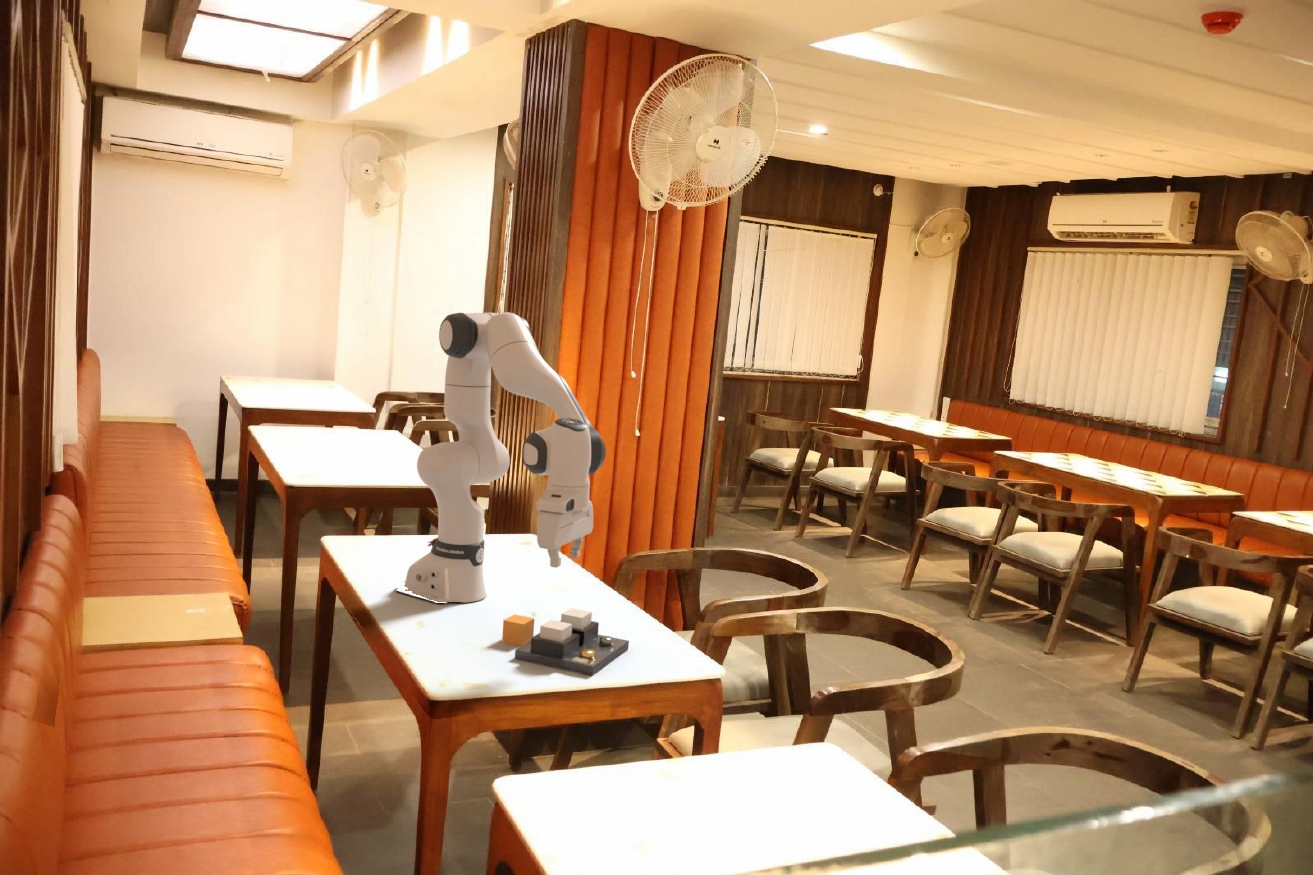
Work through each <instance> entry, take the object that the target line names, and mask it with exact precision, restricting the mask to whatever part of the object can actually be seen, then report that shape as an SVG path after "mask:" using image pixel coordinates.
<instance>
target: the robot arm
mask: <svg viewBox="0 0 1313 875" xmlns="http://www.w3.org/2000/svg"><path fill="white" fill-rule="evenodd" d="M438 338H439V345H440V347H441V349H442V351H443V352H444V354H446V355H447V356H448V357H447V362H446V369H445V378H444V398H443V401H444V403H443V414H444V416H445V417H444V418H446V419H447V421H449V422H450V423H451V424H453V425H454V426H455V427H456V430H457V432H458V440H457V441H446V442H438V443H436V444H433V445H430V446H427V447H424V448H423V450H421V451H420V453H419V455H418V457H417V462H416V470H417V474H418V476H419V479H420V480H421V481H422V482H423V483H424V484H425V485H426V486H427V487H428V488H429V489H430V491H431V492H432V493H433V496H434V497H435V500H436V504H437V505H436V506H437V512H438V514H437V516H438V521H437V524H438V526H437V528H438V529H437V537H436V538H434V539H432V540H430V541H427V543H428V544H427V547H431V550H430V552H428V553H427V554H426V555H424V556H422V557H421V558H419V559H417V560H416V561H414V563H412V564H411V565H410V566H409V568H408V570H407V572H406V577H405V580H404V581H403V582H405V585H404V586H405V587H407V588H408V590H407V589H406V590H405V591H412V593H413V594H416V595H420V596H422V597H425V598H427V599H429V600H434V601H437V602H461V603H460V604H462V602H463V604H465V603H474V602H477V601H480V600H483V599H485V598H486V597H487V592H486V591H487V590H486V587H485V581H484V572H483V571H484V570H483V562H484V556H485V540H484V526H485V524H484V523H485V511H484V508H483V507H482V506H481V505H480V503H478V502H477V501H475V500H474V499H473V498H472V494H471V486H472V485H477V484H478V485H479V484H487V483H490V482H494V481H495V480H498V479H500V478H502V477H504V476H505V475H506V474H507V472H508V470H509V469H510V468H509V467H510V462H511V458H510V453H509V451H508V449H507V447H506V446H505V445H504V443H503V442H501V441H500V440H499V438H498V437H497V434H496V432H495V430H494V426H493V424H492V418H491V392H492V391H491V389H492V388H491V387H492V372H493V375H494V377H495V379H496V381H497V382H498V383H499V384H500V386H501V388H503V389H504V390H506V391H507V392H510V393H511V394H513V395H516V396H520V397H523V398H528V399H531V400H535V401H537V402H540V403H542V404H545V405H546V406H547V407H549V408H550V409H551V410H552V411H553V412H554V413H555V414H556V417H557V418H556V419H555V420H554V421H552V423H551V425H550V426H549V427H547V428H545V429H540V430H537V431H533V432H531V433H529V435H528V436H527V437H526V438H525V440H524V441H523V444H522V449H521V457H522V462H523V465H524V467H525V468H526V469H527V470H528V471H529V472H530V473H532V474H533V475H539V476H548V479H547V486H546V487H547V488H546V489H545V490H544V492H543V494H542V495H540V497H539V498H538V499H537V500H536V505H535V506H536V510H537V511H539V512H538V515H537V520H536V524H537V525H536V541H537V545H538V547H539V549H545V550H547V554H548V556H549V558H550V561H549V566H550V567H551V568H559V567H560V566H561V565H562V557H560V553H559V552H560V551H561V547H562V546H565V545H567V544H569V543H572V545H571V548H570V549H569V557H570V558H572V559H576V558H580V556H581V549H582V546H583V542H584V537H585V536H588V535H589V534H592V532H593V529H594V508H593V507H594V506H593V502H592V501H591V500H590V499H591V498H590V494H591V493H590V489H591V480H590V476H591V475H593V474H595V473H596V472H597V471H598V470H600V468H601V466H602V465H603V463H604V462H605V460H606V455H607V449H606V444H605V441H604V439H603V438H602V436H601V435H600V433H599V432H598V431H597V429H596V428H594V426H593V425H592V424H591V422H590V420H589V419H588V417H587V416H586V414H585V412H584V410H583V409H582V407H581V406H580V403H579V402H578V400H577V398H576V396H575V395H574V393H573V391H572V390H571V388H570V386H569V385H568V383H567V382H566V379H564V377H563V376H562V375H561V374H560V373H558V372H557V371H555V370H554V369H553V368H552V367H551V366H550V365H549V364H548V363H547V362H546V361H545V359H544V358H543V357H542V355H541V354H540V351H539V350H538V347H537V344H536V342H535V340H534V337H533V335H532V331H531V327H530V324H529V323H528V321H527V320H526V319H525V318H524V317H522V316H520V315H517V314H516V313H513V312H508V311H506V312H500V313H499V312H498V313H497V312H486V311H485V312H468V313H464V312H457V313H451V314H448V315H446V316H445V318H444V319H443V320H442V322H441V323H440V327H439V332H438Z"/></svg>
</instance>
